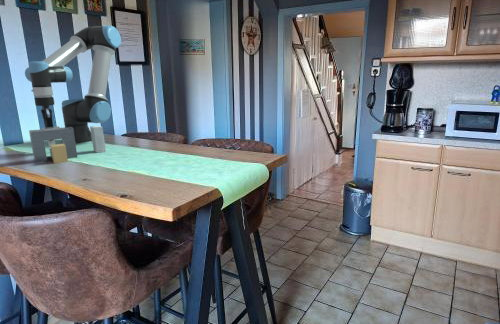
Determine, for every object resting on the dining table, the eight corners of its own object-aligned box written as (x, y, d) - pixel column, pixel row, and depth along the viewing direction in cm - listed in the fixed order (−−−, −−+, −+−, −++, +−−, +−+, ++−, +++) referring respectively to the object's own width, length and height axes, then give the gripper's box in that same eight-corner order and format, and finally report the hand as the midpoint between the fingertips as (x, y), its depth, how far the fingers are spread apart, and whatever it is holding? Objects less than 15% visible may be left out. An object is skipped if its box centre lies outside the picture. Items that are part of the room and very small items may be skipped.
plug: (61, 154, 155) (59, 140, 154) (67, 161, 143) (65, 145, 141) (49, 156, 152) (47, 141, 151) (54, 163, 140) (51, 147, 138)
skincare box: (106, 151, 161) (103, 126, 158) (96, 153, 158) (93, 127, 155) (102, 149, 166) (99, 125, 163) (92, 150, 163) (89, 126, 160)
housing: (74, 154, 155) (70, 125, 151) (77, 157, 150) (73, 126, 147) (34, 160, 146) (28, 128, 142) (35, 162, 141) (30, 130, 137)
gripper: (32, 96, 156) (41, 145, 162) (35, 97, 146) (45, 150, 152) (51, 95, 161) (59, 143, 167) (55, 96, 150) (63, 148, 157)
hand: (52, 146), depth 160 cm, fingers closed
